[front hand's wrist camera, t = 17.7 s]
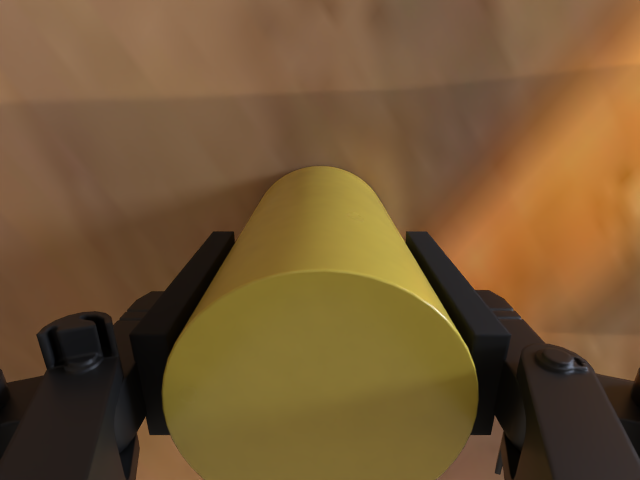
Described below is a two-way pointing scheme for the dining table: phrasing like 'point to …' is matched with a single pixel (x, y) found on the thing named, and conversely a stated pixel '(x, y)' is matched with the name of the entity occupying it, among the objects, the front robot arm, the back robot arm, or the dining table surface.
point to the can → (320, 349)
